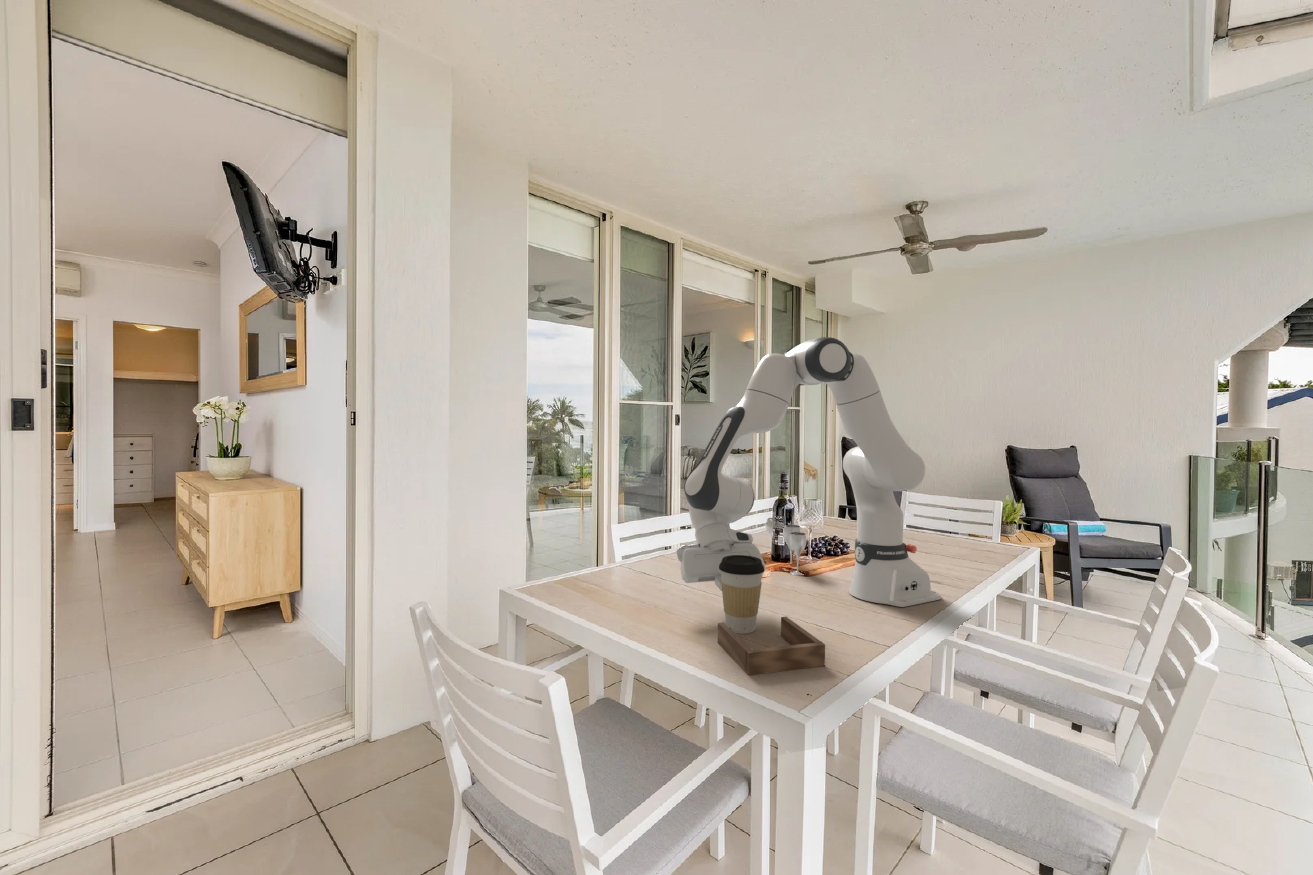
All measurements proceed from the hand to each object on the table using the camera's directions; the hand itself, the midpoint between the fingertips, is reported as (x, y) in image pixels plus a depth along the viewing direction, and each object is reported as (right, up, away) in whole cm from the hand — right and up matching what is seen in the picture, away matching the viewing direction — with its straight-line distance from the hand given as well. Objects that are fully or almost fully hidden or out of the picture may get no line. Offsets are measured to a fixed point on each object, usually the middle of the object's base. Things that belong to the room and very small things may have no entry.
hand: (730, 595), depth 125 cm
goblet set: (+24, -4, +50) cm, 55 cm away
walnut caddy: (+5, -6, -18) cm, 19 cm away
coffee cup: (+1, -6, -5) cm, 8 cm away
